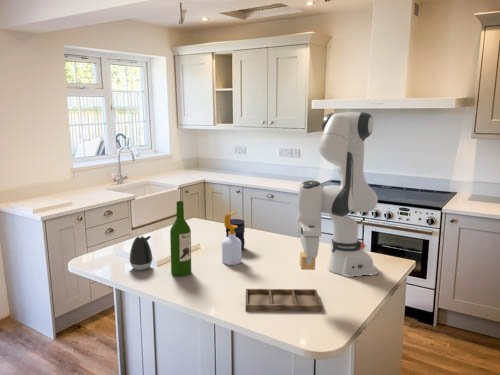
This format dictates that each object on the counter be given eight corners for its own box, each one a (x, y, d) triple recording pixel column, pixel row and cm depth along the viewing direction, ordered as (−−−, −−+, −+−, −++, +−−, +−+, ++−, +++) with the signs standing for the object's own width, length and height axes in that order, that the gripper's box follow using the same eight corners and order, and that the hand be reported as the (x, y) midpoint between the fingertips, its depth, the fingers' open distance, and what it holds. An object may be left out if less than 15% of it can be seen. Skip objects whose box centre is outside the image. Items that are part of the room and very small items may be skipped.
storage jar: (248, 248, 221) (248, 220, 218) (237, 253, 213) (237, 225, 210) (232, 244, 226) (232, 218, 223) (221, 249, 218) (221, 222, 215)
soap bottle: (234, 266, 195) (234, 215, 190) (218, 262, 199) (218, 212, 195) (244, 261, 202) (245, 211, 198) (229, 257, 207) (229, 209, 202)
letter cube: (312, 264, 160) (313, 252, 159) (314, 269, 155) (315, 256, 154) (299, 264, 159) (300, 251, 159) (301, 269, 155) (301, 256, 154)
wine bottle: (179, 278, 181) (178, 205, 175) (167, 272, 187) (165, 201, 181) (195, 272, 187) (194, 201, 181) (182, 267, 193) (181, 198, 187)
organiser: (315, 294, 167) (316, 289, 166) (321, 311, 153) (322, 305, 152) (245, 293, 166) (245, 288, 166) (245, 310, 153) (245, 304, 152)
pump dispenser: (157, 268, 192) (156, 236, 189) (137, 274, 185) (136, 241, 182) (145, 262, 199) (144, 231, 196) (125, 268, 191) (124, 236, 189)
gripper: (297, 217, 164) (296, 251, 167) (303, 233, 144) (302, 271, 147) (313, 218, 164) (311, 251, 167) (322, 233, 144) (320, 271, 147)
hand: (307, 260), depth 157 cm, fingers closed on letter cube, 5 cm apart
